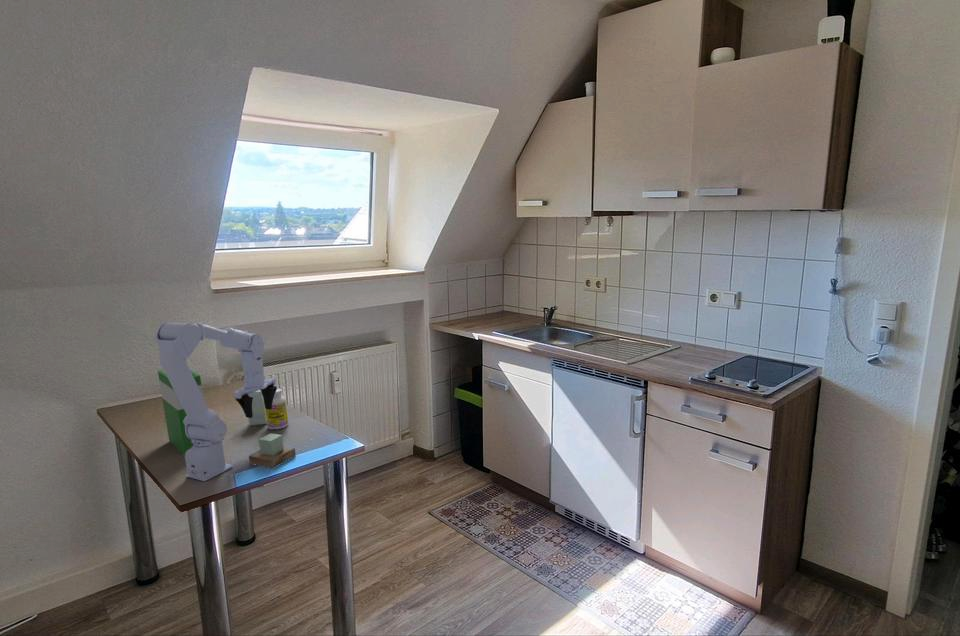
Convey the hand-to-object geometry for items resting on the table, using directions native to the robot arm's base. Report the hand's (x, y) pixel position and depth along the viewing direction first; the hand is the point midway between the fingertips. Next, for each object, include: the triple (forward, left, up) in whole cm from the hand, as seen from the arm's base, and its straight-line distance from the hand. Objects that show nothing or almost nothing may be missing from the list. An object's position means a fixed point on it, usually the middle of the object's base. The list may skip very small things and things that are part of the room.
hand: (259, 413), depth 173 cm
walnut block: (-8, -13, -10) cm, 19 cm away
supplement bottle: (+12, +6, -10) cm, 17 cm away
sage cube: (-8, -13, -7) cm, 17 cm away
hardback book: (-10, +21, -10) cm, 26 cm away
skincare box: (+12, +15, -10) cm, 22 cm away
